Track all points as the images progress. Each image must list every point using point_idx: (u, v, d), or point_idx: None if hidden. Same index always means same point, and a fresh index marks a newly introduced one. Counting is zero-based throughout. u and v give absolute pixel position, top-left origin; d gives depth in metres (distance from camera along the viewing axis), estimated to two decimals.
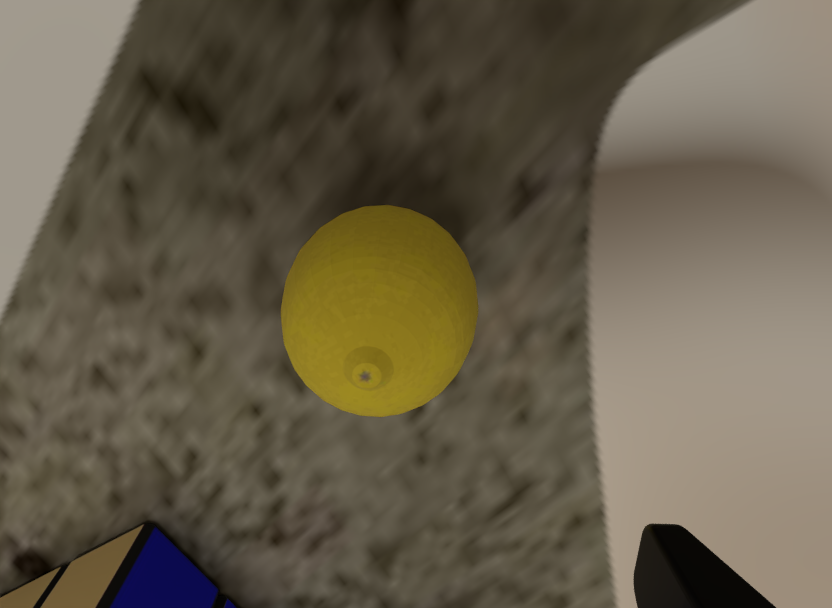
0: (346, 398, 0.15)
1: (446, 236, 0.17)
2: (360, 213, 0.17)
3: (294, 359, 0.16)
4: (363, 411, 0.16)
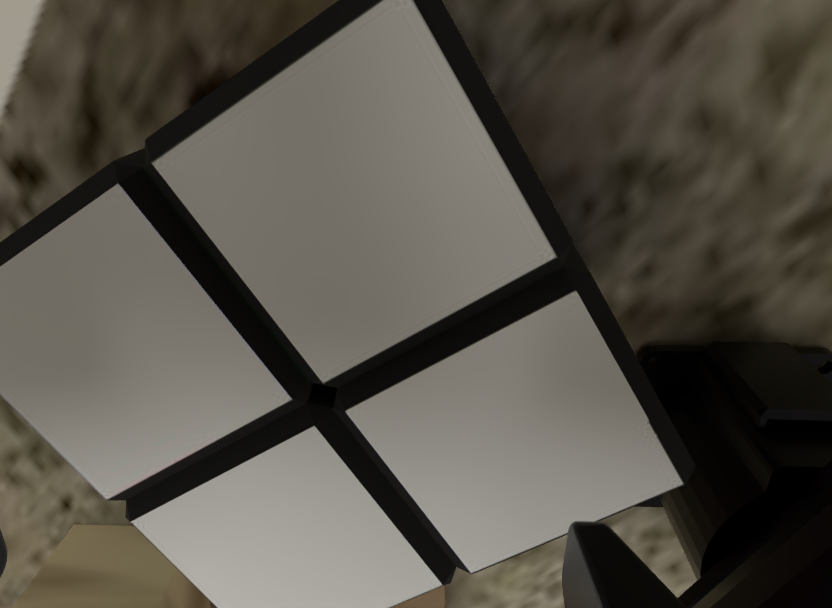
0: None
1: None
2: None
3: None
4: None
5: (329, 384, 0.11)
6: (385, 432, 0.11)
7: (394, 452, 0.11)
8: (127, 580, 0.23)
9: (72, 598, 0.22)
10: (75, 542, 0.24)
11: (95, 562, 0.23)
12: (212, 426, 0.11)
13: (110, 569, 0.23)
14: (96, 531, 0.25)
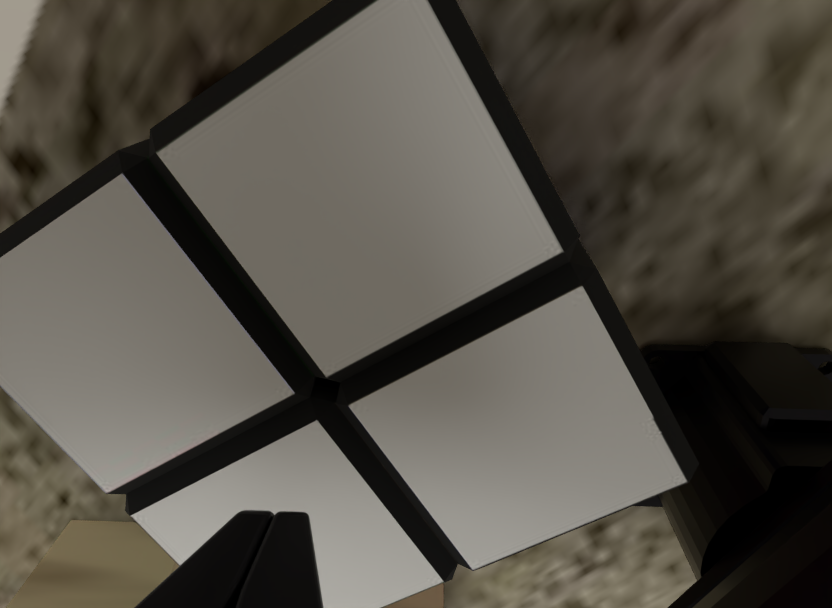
0: None
1: None
2: None
3: None
4: None
5: (332, 378, 0.11)
6: (388, 427, 0.11)
7: (397, 447, 0.11)
8: (124, 576, 0.23)
9: (69, 594, 0.22)
10: (72, 538, 0.24)
11: (93, 558, 0.23)
12: (214, 420, 0.11)
13: (108, 566, 0.23)
14: (93, 527, 0.25)
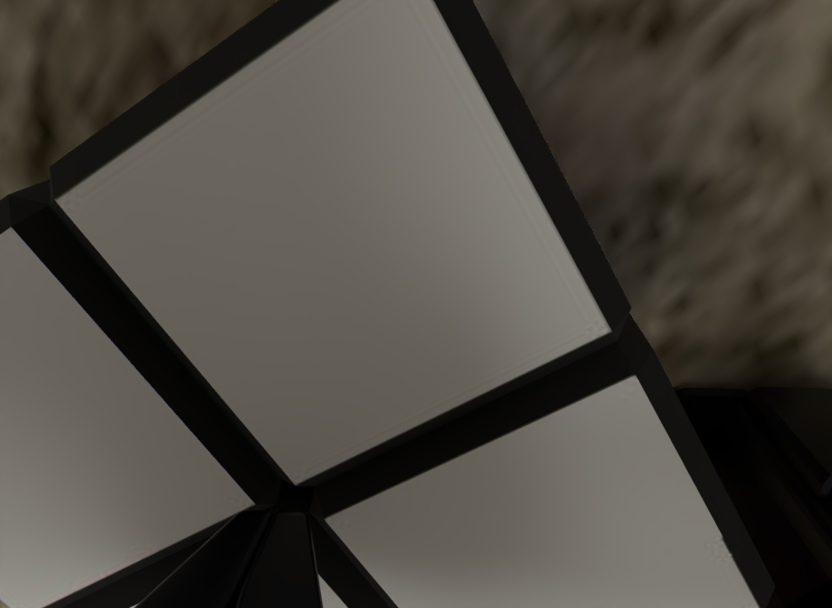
0: None
1: None
2: None
3: None
4: None
5: (303, 485, 0.08)
6: (376, 545, 0.08)
7: (388, 569, 0.08)
8: None
9: None
10: None
11: None
12: (152, 534, 0.08)
13: None
14: None
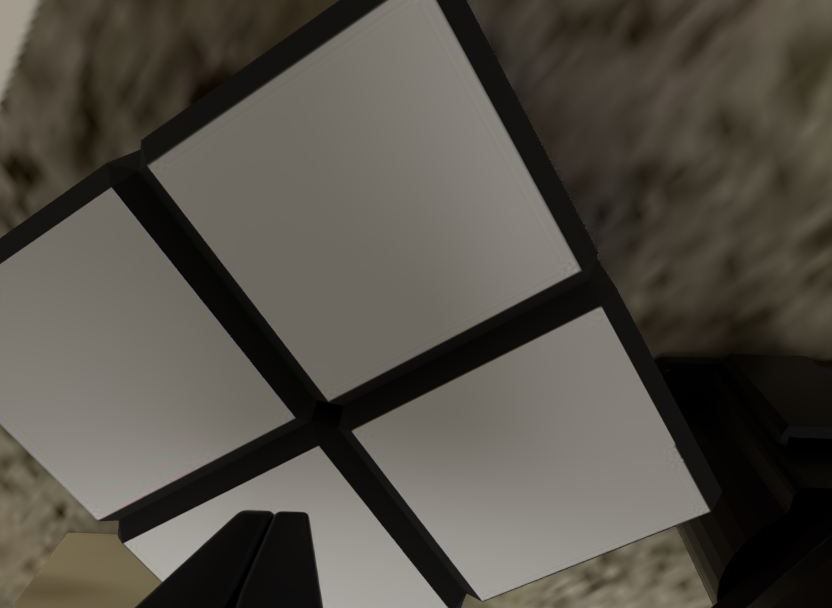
0: None
1: None
2: None
3: None
4: None
5: (335, 402, 0.10)
6: (394, 453, 0.10)
7: (403, 474, 0.10)
8: (121, 592, 0.22)
9: None
10: (68, 551, 0.24)
11: (89, 572, 0.23)
12: (210, 445, 0.10)
13: (104, 580, 0.22)
14: (90, 540, 0.24)
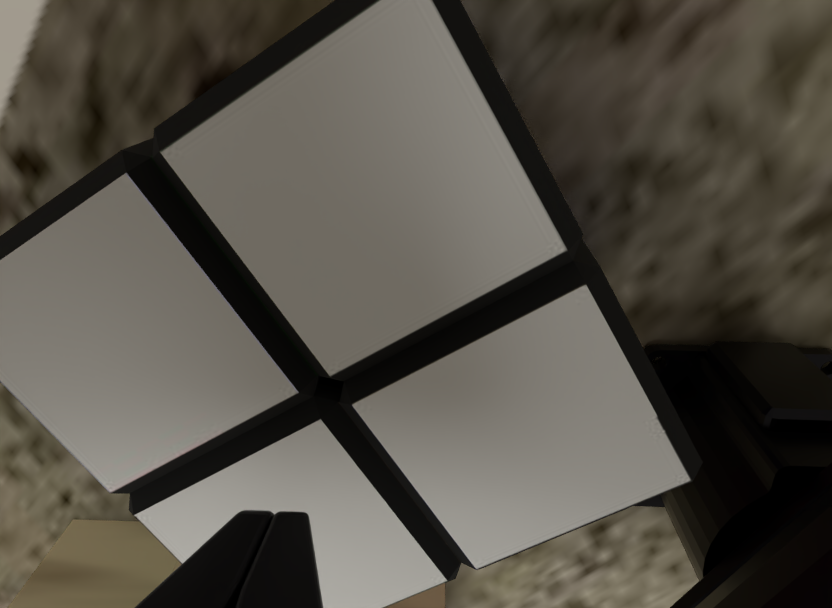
0: None
1: None
2: None
3: None
4: None
5: (336, 377, 0.11)
6: (392, 426, 0.11)
7: (400, 446, 0.11)
8: (126, 576, 0.23)
9: (71, 593, 0.22)
10: (74, 537, 0.24)
11: (95, 557, 0.23)
12: (217, 419, 0.11)
13: (110, 565, 0.23)
14: (95, 526, 0.25)
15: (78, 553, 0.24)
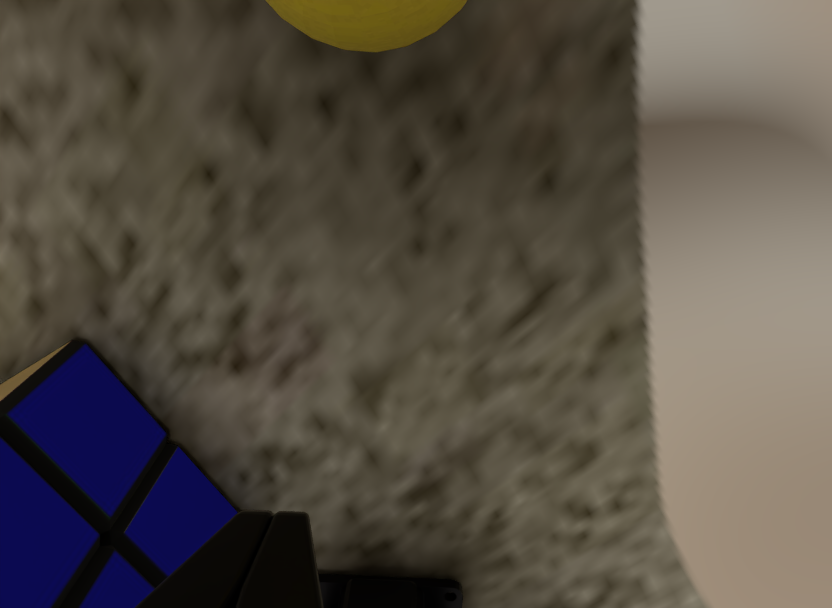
0: None
1: None
2: None
3: None
4: None
5: None
6: None
7: None
8: None
9: None
10: None
11: None
12: None
13: None
14: None
15: None
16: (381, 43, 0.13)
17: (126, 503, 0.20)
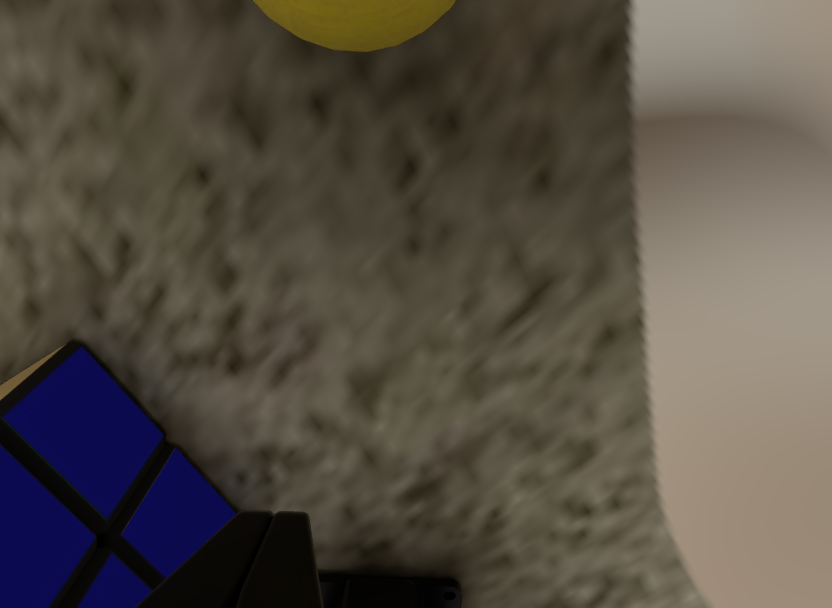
0: None
1: None
2: None
3: None
4: None
5: None
6: None
7: None
8: None
9: None
10: None
11: None
12: None
13: None
14: None
15: None
16: (370, 43, 0.13)
17: (123, 505, 0.20)
